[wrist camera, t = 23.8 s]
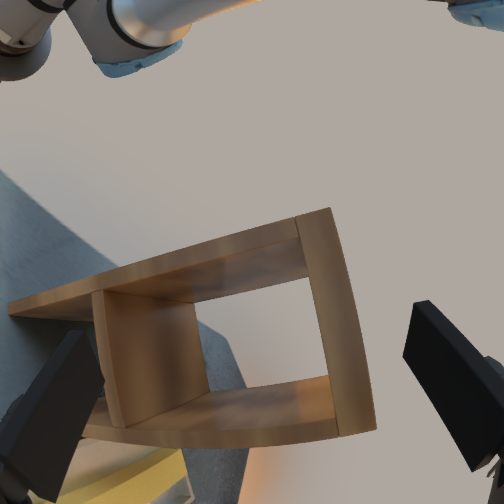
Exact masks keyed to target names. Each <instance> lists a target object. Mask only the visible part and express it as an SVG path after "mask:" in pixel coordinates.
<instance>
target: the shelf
mask: <svg viewBox="0 0 504 504" xmlns="http://www.w3.org/2000/svg"><path fill="white" fill-rule="evenodd" d="M306 277H309V280H310V285H311V290H312V294H313V299H314V304H315V308H316V313H317V318H318V322H319V327H320V332H321V337H322V343H323V348H324V353H325V358H326V363H327V369H328V374H329V375H325V376H320V377H315V378H310V379H304V380H299V381H293V382H287V383H280V384H274V385H267V386H260V387H252V388H244V389H235V390H225V391H215V392H210V389H209V384H208V379H207V374H206V369H205V363H204V358H203V353H202V347H201V341H200V336H199V330H198V324H197V318H196V312H195V306H194V303H197V302H201V301H206V300H210V299H215V298H220V297H224V296H229V295H233V294H238V293H242V292H247V291H251V290H255V289H260V288H264V287H268V286H272V285H277V284H281V283H285V282H289V281H293V280H297V279H301V278H306ZM8 315H13V316H23V317H34V318H45V319H58V320H72V321H89V322H94V325H95V334H96V341H97V349H98V355H99V362H100V368H101V372H102V374H103V376H104V378H105V380H106V381H105V383H104V390H105V395H106V396H103V397H99V398H98V399H97V401H96V403H95V405H94V408H93V410H92V412H91V415H90V417H89V419H88V421H87V424H86V426H85V429H84V431H83V433H82V436H81V437H86V438H92V439H98V440H104V441H110V442H117V443H125V444H133V445H143V446H154V447H168V448H190V449H232V448H254V447H268V446H280V445H289V444H298V443H306V442H312V441H319V440H326V439H332V438H337V437H344V436H349V435H354V434H359V433H364V432H368V431H372V430H376V429H377V425H376V417H375V410H374V403H373V396H372V389H371V383H370V378H369V372H368V366H367V360H366V354H365V349H364V344H363V338H362V333H361V329H360V324H359V319H358V314H357V309H356V305H355V301H354V296H353V292H352V287H351V283H350V279H349V275H348V271H347V267H346V263H345V259H344V255H343V252H342V247H341V243H340V240H339V236H338V232H337V228H336V225H335V222H334V218H333V214H332V211H331V208H330V207H328V208H325V209H321V210H318V211H313V212H310V213H306V214H302V215H299V216H295V218H294V217H292V218H288V219H284V220H281V221H277V222H274V223H270V224H266V225H263V226H259V227H255V228H252V229H248V230H245V231H241V232H238V233H234V234H231V235H227V236H224V237H220V238H217V239H213V240H210V241H207V242H203V243H199V244H196V245H193V246H189V247H186V248H182V249H179V250H176V251H172V252H169V253H166V254H162V255H159V256H156V257H152V258H149V259H146V260H143V261H139V262H136V263H132V264H129V265H126V266H123V267H119V268H116V269H113V270H110V271H106V272H103V273H100V274H97V275H94V276H90V277H87V278H84V279H81V280H78V281H75V282H71V283H68V284H65V285H62V286H59V287H56V288H53V289H50V290H47V291H44V292H40V293H37V294H34V295H31V296H28V297H25V298H22V299H19V300H16V301H13V302H10V303H8Z"/></svg>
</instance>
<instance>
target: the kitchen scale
mask: <svg viewBox="0 0 504 504" xmlns="http://www.w3.org/2000/svg"><path fill="white" fill-rule="evenodd" d="M161 448H168V447H154V446H143V445H133V444H125V443H117V442H110V441H104V440H98V439H92V438H86V437H81V438H80V441H79V443H78V445H77V448H76V450H75V453H74V455H73V458H72V461H71V463H70V466H69V468H68V471H67V474H66V476H65V479H64V482H63V484H62V487H61V490H60V493H59V496H58V497H60V496H63V495H65V494H68V493H70V492H73V491H75V490H77V489H80V488H82V487H85V486H87V485H89V484H91V483H94V482H96V481H98V480H100V479H102V478H104V477H107V476H109V475H111V474H113V473H115V472H117V471H119V470H121V469H123V468H125V467H127V466H129V465H131V464H133V463H135V462H137V461H139V460H141V459H143V458H145V457H146V456H148V455H150V454H152V453H154V452H156V451H158V450H159V449H161ZM174 449H181V448H174ZM27 495H29V496H30V498H31V500H32V502H33V504H42V503H44V502H47V500H44V499H41V498H39V497H38V496H36V495H35V494H34V493H33V492H32V491H31V490H30V489H29V491H28V494H27ZM194 499H195V497H194V494H193V490H192V487H191V484H190V480H189V477H188V474H187V475H186V476H184V477H183V478H182V479H181V480H179V481H178V482H177V483H175V484H174V485H173V486H171V487H170V488H169V489H167V490H166V491H165V492H163V493H162V494H161V495H159V496H158V497H156V498H155V499H154V500H152V501H151V502H149V503H148V504H190V503H191V502H192V501H193V500H194Z"/></svg>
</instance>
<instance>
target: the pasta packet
mask: <svg viewBox="0 0 504 504" xmlns="http://www.w3.org/2000/svg"><path fill="white" fill-rule="evenodd" d="M187 474H188V473H187V470H186V466H185V462H184V459H183V455H182V451H181V449H174V448H161V449H159V450H158V451H156V452H154V453H152V454H150V455H148V456H146V457H145V458H143V459H141V460H139V461H137V462H135V463H133V464H131V465H129V466H127V467H125V468H123V469H121V470H119V471H117V472H115V473H113V474H111V475H109V476H107V477H104V478H102V479H100V480H98V481H96V482H94V483H91V484H89V485H87V486H85V487H82V488H80V489H77V490H75V491H73V492H70V493H68V494H65V495H63V496H60V497H58V499H57V501H56V504H148V503H149V502H151V501H152V500H154V499H155V498H156V497H158V496H159V495H161V494H162V493H163V492H165V491H166V490H167V489H169V488H170V487H171V486H173V485H174V484H175V483H177V482H178V481H179V480H181V479H182V478H183V477H184V476H186V475H187ZM42 504H55V503H52V502H49V501H47V502H44V503H42Z"/></svg>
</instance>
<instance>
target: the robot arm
mask: <svg viewBox="0 0 504 504" xmlns="http://www.w3.org/2000/svg"><path fill="white" fill-rule="evenodd" d="M258 1H262V0H0V55H2V56H6V57H19V56H22V55H25V54H26V53H28V52H29V51H30V50H31V49H33V48H34V47H35V46H36V45H37V44H38V42H39V41H40V40H41V39H42V37H43V36H44V34H45V33H46V31H47V30H48V28H49V27H50V25H51V24H52V22H53V21H54V19H55V18H56V17H57V15H58V14H59V13H60V12H61V11H62V10H65V11H66V12H67V14H68V15H69V18H70V19H71V21H72V23H73V25H74V26H75V28H76V30H77V31H78V33H79V35H80V36H81V38H82V40H83V42H84V43H85V45H86V47H87V49H88V50H89V52H90V54H91V55H92V59H93V62H94V63H95V64H97V65H98V66H99V68H100V70H101V71H102V72H103V74H104V75H106V76H107V77H110V78H117V77H122V76H126V75H129V74H132V73H134V72H137V71H138V70H140V69H141V68H146V67H148V66H151V65H153V64H155V63H157V62H159V61H161V60H163V59H165V58H166V57H168V56H170V55H171V54H173V53H175V52H176V51H177V50H178V49H180V47H181V46H182V38H183V37H184V36H185V35H186V34H187V32H188V31H189V30H190V28H191V26H192V23H194V22H197V21H200V20H202V19H205V18H207V17H210V16H213V15H216V14H219V13H222V12H225V11H228V10H231V9H234V8H237V7H241V6H244V5H248V4H251V3H255V2H258ZM427 1H440V2H447V3H448V4H449V5H448V10H449V11H450V12H451V15H452V16H453V18H455V20H457V21H459V22H461V23H464V24H467V25H470V26H478V27H486V28H488V29H492V30H497V31H502V32H504V0H427ZM403 358H404V360H405V361H406V363H407V364H408V366H409V367H410V369H411V370H412V372H413V374H414V375H415V377H416V378H417V380H418V381H419V383H420V385H421V386H422V388H423V389H424V391H425V392H426V394H427V396H428V397H429V399H430V401H431V402H432V404H433V405H434V407H435V409H436V410H437V412H438V414H439V415H440V417H441V419H442V420H443V422H444V424H445V426H446V427H447V429H448V431H449V432H450V434H451V436H452V438H453V439H454V441H455V443H456V445H457V446H458V448H459V450H460V452H461V453H462V455H463V457H464V459H465V461H466V462H467V464H468V466H469V468H470V470H471V472H474V471H476V470H478V469H480V468H482V467H483V466H485V465H487V464H488V463H490V461H491V460H492V459H493V458H494V456H495V455H496V454H498V456H499V457H500V459H499V460H498V462H497V463H496V464H495V465H494V466H493V467H492V469H491V470H490V471H489V472H488V475H487V477H490V476H491V474H492V473H493V472H494V471H495V475H494V476H493V478H494V479H493V484H492V488H491V492H490V496H489V500H488V504H504V367H503V366H502V365H501V363H499V362H498V361H496V360H495V359H493V358H491V357H490V356H487V357H483V356H482V355H481V354H480V353H479V351H478V350H477V349H476V348H475V347H474V346H473V345H472V344H471V343H470V342H469V341H468V340H467V338H466V337H465V336H464V335H463V334H462V333H461V332H460V331H459V330H458V329H457V328H456V327H455V326H454V325H453V324H452V323H451V322H450V321H449V320H448V319H447V318H446V317H445V316H444V315H443V313H442V312H440V310H439V309H438V308H437V307H436V306H435V305H433V304H432V303H431V302H430V301H429V300H426V301H421V302H415V303H414V304H413V309H412V315H411V320H410V325H409V330H408V335H407V339H406V343H405V348H404V352H403ZM105 381H106V380H105V378H104V376H103V374H102V372H101V369H100V367H99V365H98V362H97V360H96V358H95V355H94V353H93V351H92V348H91V346H90V343H89V341H88V338H87V335H86V333H85V330H69V332H68V333H67V334H66V336H65V337H64V339H63V340H62V341H61V343H60V344H59V345H58V347H57V348H56V349H55V351H54V352H53V354H52V355H51V356H50V358H49V359H48V361H47V362H46V364H45V365H44V366H43V368H42V369H41V371H40V372H39V374H38V375H37V377H36V378H35V380H34V381H33V383H32V384H31V386H30V387H29V389H28V390H27V392H26V393H25V395H23V394H22V395H21V396H19V397H18V398H17V399H16V400H15V401H14V402H13V403H12V404H11V406H10V407H9V409H8V410H7V414H5V415H4V417H3V418H2V422H0V504H33V502H32V500H31V498H30V496H29V495H27V494H28V491H29V489H30V490H31V491H32V492H33V493H34V494H35V495H36V496H38V497H39V498H41V499H44V500H47V501H49V502H52V503H55V504H56V501H57V499H58V496H59V493H60V490H61V487H62V484H63V482H64V479H65V476H66V474H67V471H68V468H69V466H70V463H71V461H72V458H73V455H74V453H75V450H76V448H77V445H78V443H79V441H80V438H81V436H82V433H83V431H84V429H85V426H86V424H87V421H88V419H89V417H90V415H91V412H92V410H93V408H94V405H95V403H96V401H97V399H98V396H99V394H100V392H101V390H102V388H103V385H104V383H105Z"/></svg>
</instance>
